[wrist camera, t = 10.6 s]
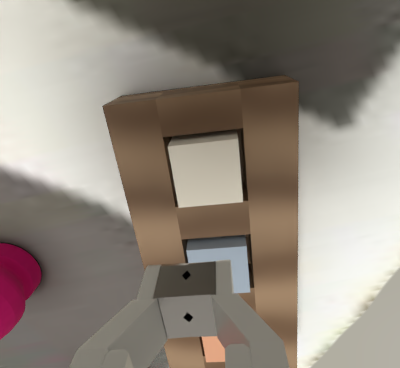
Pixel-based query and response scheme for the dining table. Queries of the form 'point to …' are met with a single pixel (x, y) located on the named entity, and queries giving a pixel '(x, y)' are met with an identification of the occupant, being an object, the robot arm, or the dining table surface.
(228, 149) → the cream button
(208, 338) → the terracotta button
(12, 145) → the dining table surface
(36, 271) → the pepper mill
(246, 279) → the slate button
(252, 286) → the button panel
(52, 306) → the dining table surface
